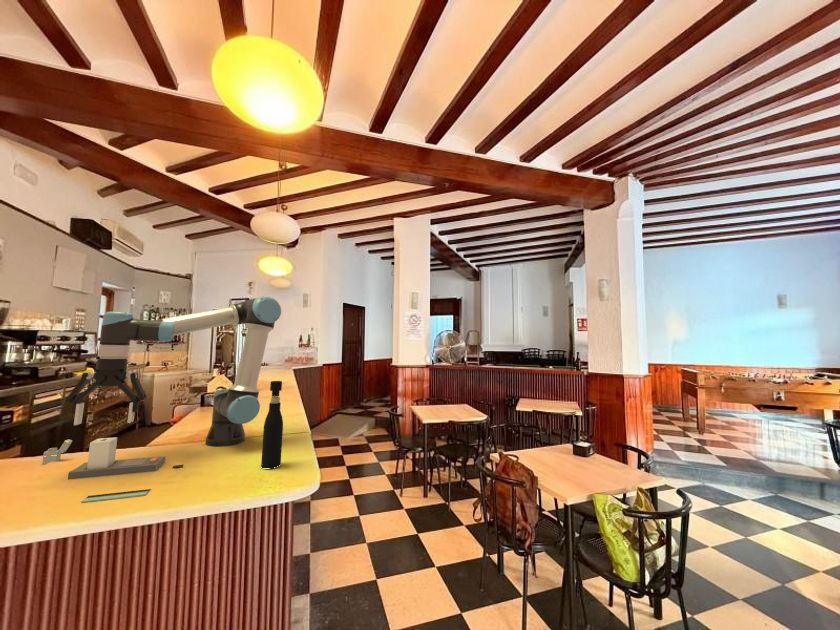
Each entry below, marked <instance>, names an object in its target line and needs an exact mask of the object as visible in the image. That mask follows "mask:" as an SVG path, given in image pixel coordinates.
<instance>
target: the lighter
mask: <svg viewBox="0 0 840 630" xmlns="http://www.w3.org/2000/svg"><path fill="white" fill-rule="evenodd" d="M72 442H73V440H72V439H69V438H68V439H65V440H64V442H63V443H62V445H61V446H60V448H59V449H58V447H51V448H49V447H48V449H47V450H46V451H44V452H43V456H42V461H41V462H42V463H41V465H42V466H45V465H47V464H49V463H51V462H52V463H53V462H59V461H61V457H62V456H61V455H62V454H63V453H65V452H66V451H67V450H68V449H69V447H70V446H71V444H72ZM51 455H57V456H51ZM44 456H46V457H44Z"/></svg>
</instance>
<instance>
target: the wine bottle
mask: <svg viewBox="0 0 840 630" xmlns="http://www.w3.org/2000/svg"><path fill="white" fill-rule="evenodd" d="M282 388H283V381H281V380H271V381H270V386H269V391H271V397H270V402H269V403H268V405H269V406H268V412H267V415H266V418H265V419H264V424H263V432H262V433H263V435H262V449H261V462H260V463H261V465H260V468H261V467H262V468H274V467H277V466H279V465H280V464H282V461H281V460H282V450H283V449H282V448H283V432H284V419H283V416H282V412H281V404H282V403H281V398H280V391H282ZM280 466H281V465H280ZM262 468H261V469H262Z"/></svg>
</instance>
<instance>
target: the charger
mask: <svg viewBox="0 0 840 630" xmlns="http://www.w3.org/2000/svg"><path fill="white" fill-rule="evenodd" d="M117 443H118V437H105V438H104V437H102V438H97V439H95V440H93V441H91V442H90V443H89V449H88V455H87V456H88V457H87V462H88V465H87V469H98V468H109V467H110V466H112V465H113V464H115V460H116V454H117V453H116V452H117V445H118V444H117Z"/></svg>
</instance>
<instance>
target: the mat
mask: <svg viewBox="0 0 840 630" xmlns="http://www.w3.org/2000/svg"><path fill="white" fill-rule="evenodd" d="M151 490H152V488H149V489H140V490H137V489H136V490H130V491H128V490H127V491H120V492H112V493H104V494H93V495H87V496H86V498H84V499H83V500H82V501H80V503H81V504H86V503H93V502H102V501H110V500H111V501H112V500H120V499H128V498H129V499H130V498H137V497H145V496H147V495H148V494H149V492H150V491H151Z"/></svg>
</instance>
